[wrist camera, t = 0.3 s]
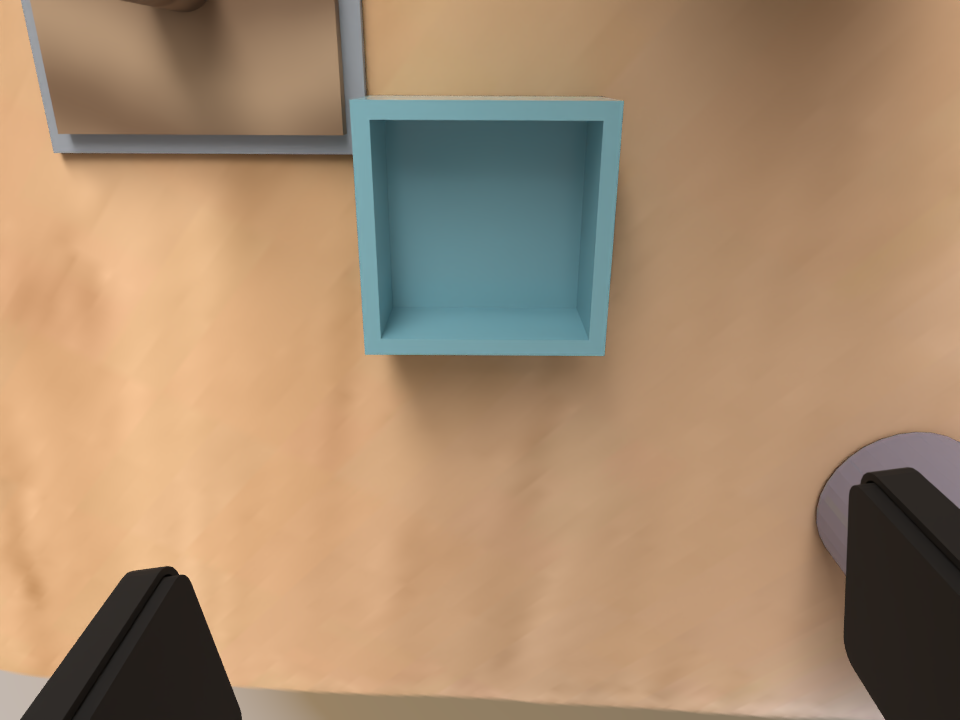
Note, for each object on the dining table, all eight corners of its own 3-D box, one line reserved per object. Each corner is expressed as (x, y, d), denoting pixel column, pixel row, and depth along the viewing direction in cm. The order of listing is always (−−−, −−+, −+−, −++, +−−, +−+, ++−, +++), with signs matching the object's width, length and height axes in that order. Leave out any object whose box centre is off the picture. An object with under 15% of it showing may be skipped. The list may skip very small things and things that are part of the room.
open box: (370, 95, 35) (349, 99, 30) (601, 96, 35) (623, 100, 30) (381, 315, 40) (365, 354, 34) (587, 316, 40) (604, 355, 34)
